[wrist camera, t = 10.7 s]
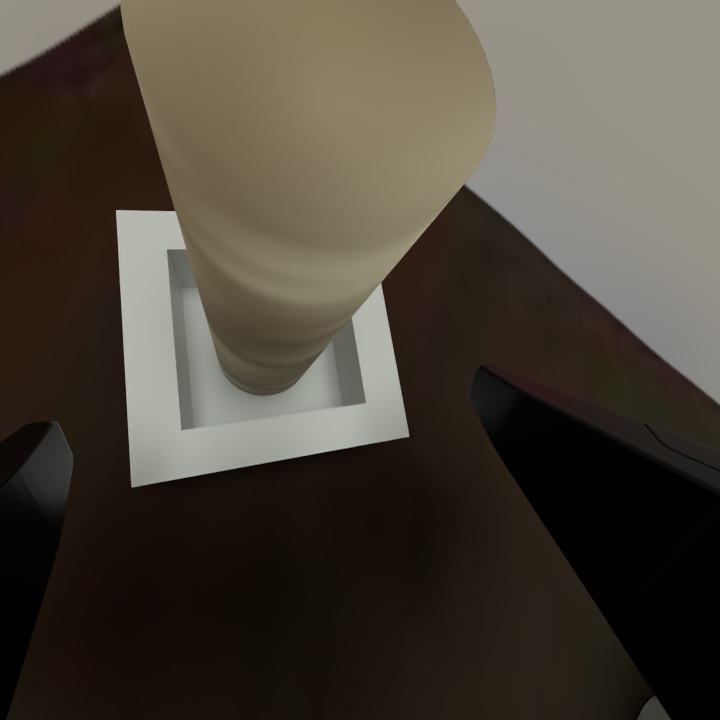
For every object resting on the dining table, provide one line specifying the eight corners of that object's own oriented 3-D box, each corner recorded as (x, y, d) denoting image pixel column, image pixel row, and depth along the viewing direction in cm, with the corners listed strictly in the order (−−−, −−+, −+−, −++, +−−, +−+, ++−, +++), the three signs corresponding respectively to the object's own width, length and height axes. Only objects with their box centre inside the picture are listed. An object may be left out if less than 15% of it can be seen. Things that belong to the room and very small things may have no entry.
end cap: (372, 439, 19) (409, 436, 14) (161, 477, 16) (131, 487, 12) (342, 263, 20) (368, 215, 16) (147, 267, 17) (116, 210, 13)
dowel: (321, 331, 18) (524, 32, 5) (288, 409, 17) (445, 282, 4) (241, 295, 17) (236, -166, 4) (201, 374, 16) (21, 66, 3)
